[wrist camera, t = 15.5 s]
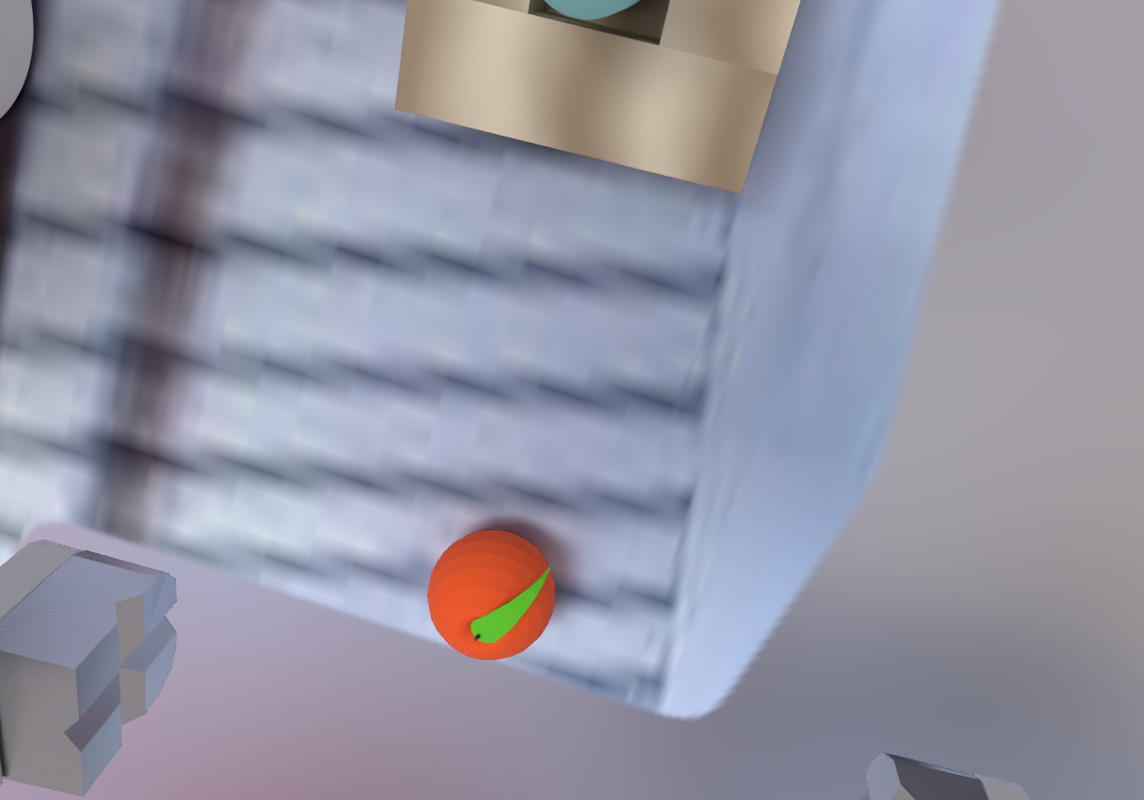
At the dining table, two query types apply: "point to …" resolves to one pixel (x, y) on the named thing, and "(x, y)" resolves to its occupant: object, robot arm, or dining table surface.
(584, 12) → the teal pin
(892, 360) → the dining table surface
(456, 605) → the clementine
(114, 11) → the dining table surface
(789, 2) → the maple block
